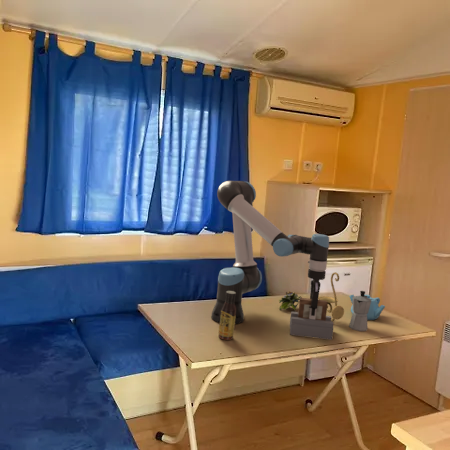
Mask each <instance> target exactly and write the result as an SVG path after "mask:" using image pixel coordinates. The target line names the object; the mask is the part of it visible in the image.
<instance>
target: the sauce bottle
mask: <svg viewBox="0 0 450 450" xmlns="http://www.w3.org/2000/svg"><path fill="white" fill-rule="evenodd" d="M235 296H236V292H234V291H226V300H225V303H224V305H223V308H222V310H221V317H220V323H219V327H218V337H219V339H221V340H224V341H230V340H232V339H233V338H234V333H235V325H236V324H235V318H236V306H235V304H234V302H235Z"/></svg>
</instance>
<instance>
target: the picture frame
mask: <svg viewBox="0 0 450 450" xmlns="http://www.w3.org/2000/svg"><path fill="white" fill-rule="evenodd" d="M311 300H312V299H310V298H308V297H307V298H305V297H302V298H300V300H299V301H300V302H299V303H298V311H297V312H298V318H306V319H309V314H310V308H309V306H310V307H311ZM327 305H329V304H328V302H327V301H326V300H319V299H318V305H317V309H316V318H315V320H323V321H326V316H327V313H328V311H327V310H328V309H327Z"/></svg>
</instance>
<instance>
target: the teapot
mask: <svg viewBox="0 0 450 450" xmlns="http://www.w3.org/2000/svg"><path fill="white" fill-rule="evenodd" d="M354 296H355V295H354V294H350V295H349V299H350V301H351V304H352V305H351V307H350V312H351V315H352V314H353V312H354V311H353V297H354ZM365 296H367V298H370V299H371V304H370V308H369V311H368V314H367V321H375V320H377V319H378V318H380V316H381V314H382V312H383V310H384V309H385V307H386V306H385V305H384V304H381V305H380V302H381V299H380V297H371V295H370V294H365Z"/></svg>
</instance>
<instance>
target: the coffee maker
mask: <svg viewBox="0 0 450 450" xmlns="http://www.w3.org/2000/svg"><path fill="white" fill-rule="evenodd" d="M365 295H366V291H365V290H360V295H354V297H353V304H352V305H353V311H354V312H353V314H352V313H351V318H350V321H349V325H348V328H350V329H351V330H353V331H357V332H367V331H368V328H369V327H368V320H367V314H368V311H369V308H370V304H371V299H370V298H367V296H365Z"/></svg>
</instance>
